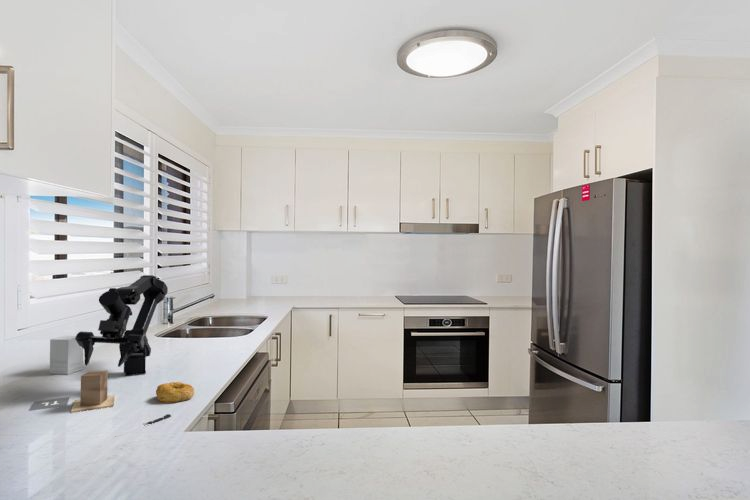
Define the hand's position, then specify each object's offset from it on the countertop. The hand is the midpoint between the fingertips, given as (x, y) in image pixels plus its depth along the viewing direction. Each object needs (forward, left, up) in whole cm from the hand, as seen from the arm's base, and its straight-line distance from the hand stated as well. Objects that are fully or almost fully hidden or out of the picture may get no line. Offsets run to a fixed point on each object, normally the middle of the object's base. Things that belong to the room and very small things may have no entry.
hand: (102, 365), depth 133 cm
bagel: (-19, +14, -9) cm, 26 cm away
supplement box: (+13, -36, -9) cm, 39 cm away
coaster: (+2, +10, -9) cm, 13 cm away
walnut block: (+2, +10, -8) cm, 13 cm away
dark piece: (-8, +34, -9) cm, 36 cm away
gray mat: (+13, +3, -9) cm, 16 cm away
